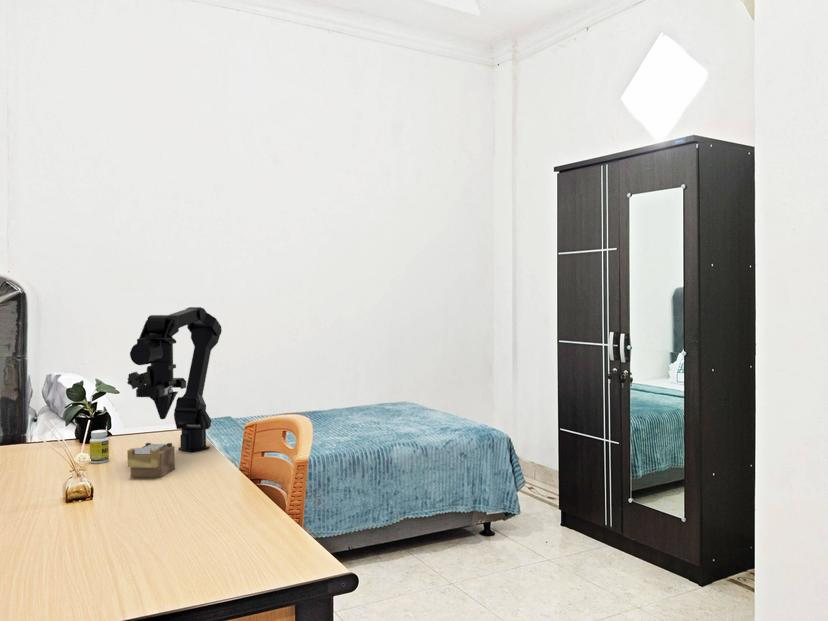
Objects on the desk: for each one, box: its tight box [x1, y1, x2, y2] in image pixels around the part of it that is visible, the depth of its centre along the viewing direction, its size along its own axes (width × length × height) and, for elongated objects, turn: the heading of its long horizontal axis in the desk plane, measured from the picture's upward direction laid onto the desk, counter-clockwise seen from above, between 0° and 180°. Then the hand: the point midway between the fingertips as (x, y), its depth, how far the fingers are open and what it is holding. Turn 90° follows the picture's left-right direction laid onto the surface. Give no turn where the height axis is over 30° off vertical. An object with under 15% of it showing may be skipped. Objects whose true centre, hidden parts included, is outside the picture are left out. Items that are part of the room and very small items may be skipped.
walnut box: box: [126, 442, 176, 478], centre depth 174 cm, size 10×8×7 cm
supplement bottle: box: [89, 429, 110, 464], centre depth 188 cm, size 5×5×8 cm
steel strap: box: [135, 443, 168, 454], centre depth 174 cm, size 10×4×2 cm, turn 176°
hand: (162, 419), depth 185 cm, fingers closed
